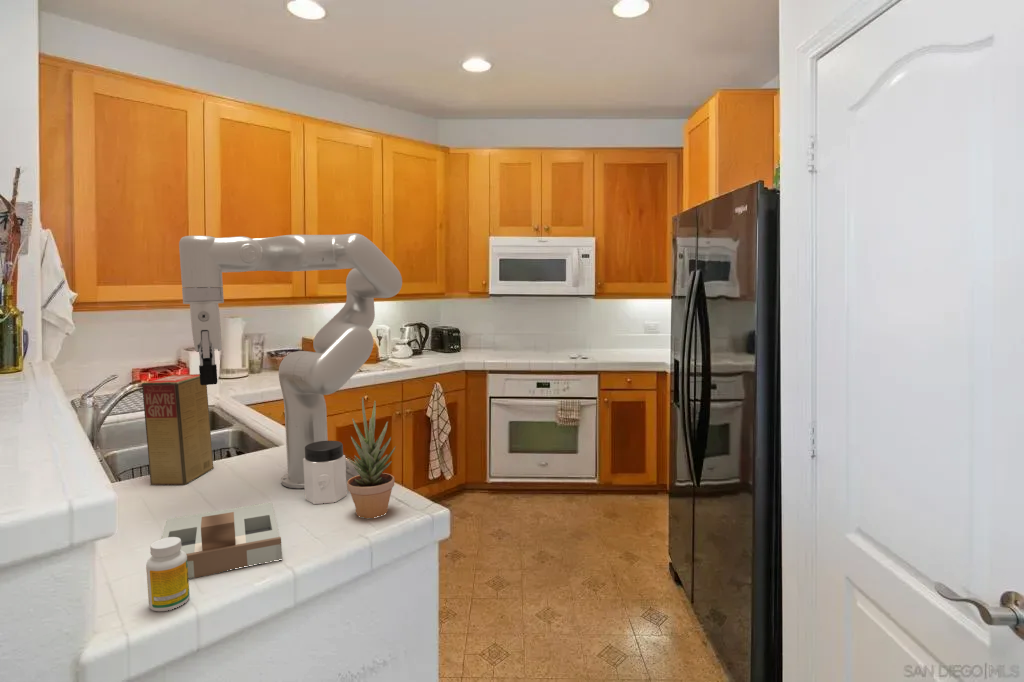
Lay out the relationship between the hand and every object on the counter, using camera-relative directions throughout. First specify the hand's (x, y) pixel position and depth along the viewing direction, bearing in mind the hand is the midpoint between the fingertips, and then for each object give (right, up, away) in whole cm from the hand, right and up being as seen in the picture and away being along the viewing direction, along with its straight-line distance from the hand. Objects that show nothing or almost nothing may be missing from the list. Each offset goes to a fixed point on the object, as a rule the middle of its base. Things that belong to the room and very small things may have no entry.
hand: (209, 383), depth 125 cm
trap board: (+10, -29, -16) cm, 34 cm away
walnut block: (+13, -26, -23) cm, 37 cm away
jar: (+22, -26, +9) cm, 35 cm away
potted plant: (+34, -27, -1) cm, 44 cm away
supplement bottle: (+12, -31, -35) cm, 48 cm away
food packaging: (-19, -25, +25) cm, 40 cm away
